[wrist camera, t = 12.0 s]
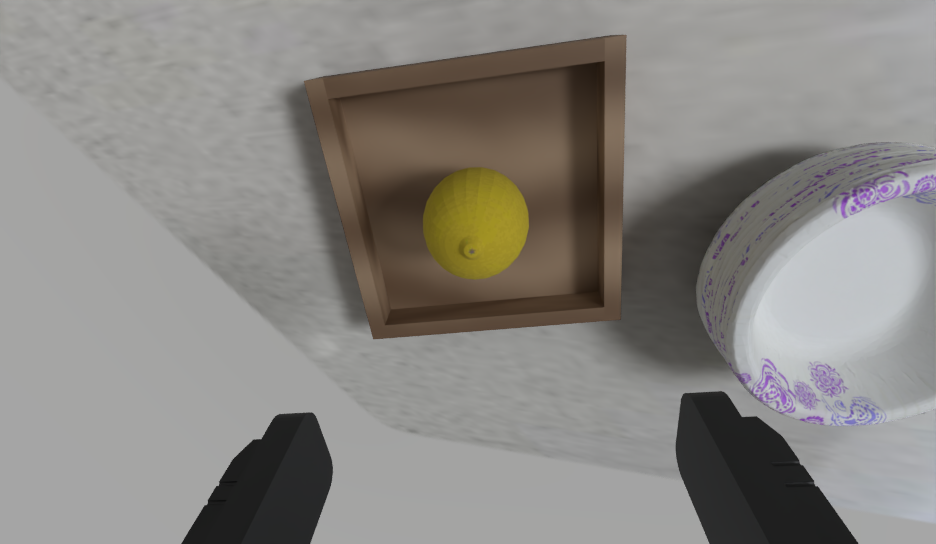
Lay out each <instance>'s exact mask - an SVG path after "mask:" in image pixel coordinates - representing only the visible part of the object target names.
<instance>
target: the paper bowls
mask: <svg viewBox="0 0 936 544" xmlns="http://www.w3.org/2000/svg"><path fill="white" fill-rule="evenodd" d="M696 296H697V308H698V312H699V314H700V318H701V320H702V322H703V325H704V327H705V329H706V330H707V333H708V334H709V336H710V338H711V340H712V341H713V343H714V344H715V346H716V347H717V349H718V351H719V352H720V353H721V355H722V356H723V357H724V359H725V360H726V362H727V364H728V365H729V366H730V368H731V370H732V371H733V373H734V374H735V376H736V377H737V378H738V379H739V381H740V382H741V384H742V385H743V386H744V388H745V389H746V390H747V391H748V392H749V393H750V394H751V395H752V396H753V397H755V398H756V399H757V400H758V401H760V402H761V403H763V404H764V405H766V406H767V407H769V408H771V409H773V410H775V411H777V412H778V413H780V414H783V415H787V416H789V417H792V418H794V419H798V420H802V421H805V422H809V423H814V424H822V425H833V426H859V425H870V424H878V423H884V422H889V421H894V420H899V419H904V418H908V417H911V416H915V415H919V414H922V413H925V412H928V411H931V410H933V409H936V148H933V147H929V146H924V145H918V144H911V143H901V142H878V143H866V144H860V145H855V146H850V147H846V148H841V149H836V150H832V151H829V152H825V153H821V154H818V155H816V156H813V157H810V158H808V159H806V160H804V161H802V162H800V163H798V164H796V165H794V166H792V167H791V168H789V169H788V170H786V171H784V172H782V173H780V174H778V175H777V176H775V177H773V178H772V179H770V180H769V181H767V182H766V183H764V184H763V185H762V186H761V187H759V188H758V189H757V190H756V191H755V192H753V193H752V194H751V195H749V196H748V197H747V198H746V199H745V200H744V201H743V202H742V203H741V204H740V205H739V206H738V207H737V208H736V209H735V210H734V211H733V212H732V213H731V214H730V216H729V217H728V218H727V219H726V221H725V222H724V223H723V225H722V226H721V227H720V228H719V230H718V231H717V233H716V235H715V236H714V238H713V240H712V242H711V244H710V246H709V247H708V249H707V252H706V254H705V256H704V258H703V261H702V264H701V267H700V272H699V275H698V279H697V285H696Z"/></svg>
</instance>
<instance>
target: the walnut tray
mask: <svg viewBox="0 0 936 544" xmlns="http://www.w3.org/2000/svg"><path fill="white" fill-rule="evenodd" d="M625 79H626V35H610V36H603V37H596V38H590V39H583V40H576V41H569V42H562V43H555V44H548V45H541V46H534V47H527V48H520V49H513V50H506V51H499V52H492V53H485V54H478V55H471V56H464V57H457V58H450V59H443V60H436V61H429V62H422V63H415V64H408V65H401V66H394V67H387V68H380V69H373V70H366V71H359V72H352V73H345V74H338V75H331V76H324V77H319V78H315V79H311V80H306V81H304V83H305V87H306V91H307V95H308V98H309V102H310V106H311V109H312V113H313V117H314V121H315V124H316V128H317V132H318V135H319V139H320V143H321V147H322V150H323V154H324V158H325V161H326V165H327V169H328V173H329V176H330V180H331V184H332V187H333V191H334V195H335V199H336V202H337V206H338V210H339V213H340V217H341V221H342V225H343V228H344V232H345V236H346V239H347V243H348V247H349V251H350V254H351V258H352V262H353V265H354V269H355V273H356V277H357V280H358V284H359V288H360V291H361V295H362V299H363V303H364V306H365V310H366V314H367V317H368V321H369V325H370V329H371V332H372V336H373V339H383V338H396V337H409V336H421V335H434V334H446V333H459V332H471V331H484V330H496V329H509V328H521V327H534V326H547V325H559V324H572V323H584V322H597V321H609V320H621V274H622V225H623V176H624V127H625ZM469 167H484V168H488V169H492V170H495V171H497V172H499V173H501V174H503V175H505V176H506V177H507V178H509V179H510V180H511V181H512V182H513V183H514V184H515V185H516V186H517V188H518V189H519V191H520V192H521V194H522V195H523V197H524V200H525V203H526V206H527V209H528V217H529V229H528V233H527V238H526V242H525V244H524V246H523V248H522V250H521V252H520V254H519V256H518V257H517V258H516V259H515V260H514V262H513V263H512V264H511V265H510V266H509V267H508V268H506V269H505V270H503V271H502V272H500V273H499V274H497V275H494V276H491V277H489V278H485V279H476V280H474V279H465V278H461V277H458V276H455V275H453V274H451V273H450V272H448V271H446V270H445V269H443V268H442V267H441V266H440V265H439V264H438V263H437V262H436V261H435V260H434V258H433V256H432V255H431V253H430V251H429V250H428V248H427V245H426V241H425V237H424V234H423V214H424V211H425V207H426V203H427V200H428V199H429V197H430V195H431V193H432V192H433V190H434V188H435V187H436V186H437V185H438V184H439V183H440V182H441V181H442V180H443V179H444V178H445V177H447V176H449V175H450V174H452V173H454V172H456V171H458V170H462V169H465V168H469Z"/></svg>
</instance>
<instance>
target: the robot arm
mask: <svg viewBox="0 0 936 544" xmlns="http://www.w3.org/2000/svg"><path fill="white" fill-rule="evenodd" d="M676 457H677V463H678V467H679V471H680V474H681V477H682V479H683V481H684V484H685V486H686V489H687V491H688V493H689V496H690V498H691V500H692V503H693V505H694V508H695V510H696V512H697V515H698V517H699V519H700V522H701V524H702V527H703V529H704V531H705V534H706V536H707V539H708V541H709V543H710V544H858V542H857V541H856V539H855V538H854V537H853V535H852V534H851V532H850V531H849V530H848V528H847V527H846V525H845V524H844V523H843V521H842V520H841V518H840V517H839V516H838V514H837V513H836V511H835V510H834V508H833V507H832V506H831V504H830V503H829V501H828V500H827V499H826V497H825V496H824V494H823V493H822V492H821V490H820V489H819V487H818V486H817V487H816V486H815V484H814V480H813V479H812V478H811V476H810V475H809V473H808V472H807V470H806V469H805V468H804V466H803V465H800V463H799V459H798V458H797V456H796V455H795V454H794V452H793V451H792V449H791V448H790V447H789V445H788V444H787V442H786V441H785V440H784V438H783V437H782V436H781V435H780V434H779V433H777V432H776V431H775V430H773V429H772V428H771V427H770V426H768V425H767V424H766V423H764V422H763V421H762V420H761V419H759V418H758V417H757V416H755V417H741V415H740V414H739V412H738V410H737V409H736V407H735V406H734V404H733V403H732V401H731V399H730V398H729V397H728V395H727V394H726V393H724V392H722V391H719V392H701V393H685V394H683V396H682V398H681V405H680V413H679V422H678V430H677V438H676ZM332 474H333V466H332V460H331V456H330V453H329V451H328V448H327V445H326V442H325V440H324V437H323V434H322V432H321V429H320V426H319V423H318V421H317V418H316V416H315V415H314V414H313V413H292V414H279V415H277V416H275V418H274V419H273V420H272V422H271V423H270V425H269V427H268V429H267V430H266V432H265V434H264V436H263V437H262V439H257V440H253V441H252V442H251V443H250V444H249V445H247V446H246V447H245V448H244V449H243V450H242V451H241V452H240V453H239V454H238V455H237V456H236V457H235V458H234V459H233V460H232V462H231V464H230V465H229V467H228V468H227V470H226V472H225V473H224V475H223V476H222V478H221V480H220V481H219V483H220V484H219V486H216V488H215V489H214V491H213V493H212V494H211V496H210V498H209V499H208V504H207V505H205V506H204V507H203V509H202V511H201V513H200V514H199V516H198V517H197V519H196V521H195V522H194V524H193V525H192V527H191V529H190V530H189V532H188V534H187V535H186V537H185V539H184V540H183V542H182V544H310V542H311V539H312V537H313V534H314V531H315V528H316V526H317V523H318V520H319V517H320V515H321V512H322V509H323V506H324V503H325V500H326V498H327V495H328V492H329V489H330V486H331V482H332Z"/></svg>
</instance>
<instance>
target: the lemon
mask: <svg viewBox="0 0 936 544" xmlns="http://www.w3.org/2000/svg"><path fill="white" fill-rule="evenodd" d="M528 229H529V217H528V209H527V206H526V203H525V200H524V197H523V195H522V194H521V192H520V191H519V189H518V188H517V186H516V185H515V184H514V183H513V182H512V181H511V180H510V179H509V178H507V177H506V176H505V175H503V174H501V173H499V172H497V171H495V170H492V169H488V168H484V167H469V168H465V169H462V170H458V171H456V172H454V173H452V174H450V175H449V176H447V177H445V178H444V179H443V180H442V181H441V182H440V183H439V184H438V185H437V186H436V187H435V188H434V190H433V192H432V193H431V195H430V197H429V199H428V200H427V203H426V207H425V211H424V214H423V234H424V237H425V241H426V245H427V248H428V250H429V251H430V253H431V255H432V256H433V258H434V260H435V261H436V262H437V263H438V264H439V265H440V266H441V267H442V268H443V269H445V270H446V271H448V272H450V273H451V274H453V275H455V276H458V277H461V278H465V279H474V280H476V279H485V278H489V277H491V276H494V275H497V274H499V273H500V272H502V271H503V270H505V269H506V268H508V267H509V266H510V265H511V264H512V263H513V262H514V260H515V259H516V258H517V257H518V256H519V254H520V252H521V250H522V248H523V246H524V244H525V242H526V238H527V233H528Z"/></svg>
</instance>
